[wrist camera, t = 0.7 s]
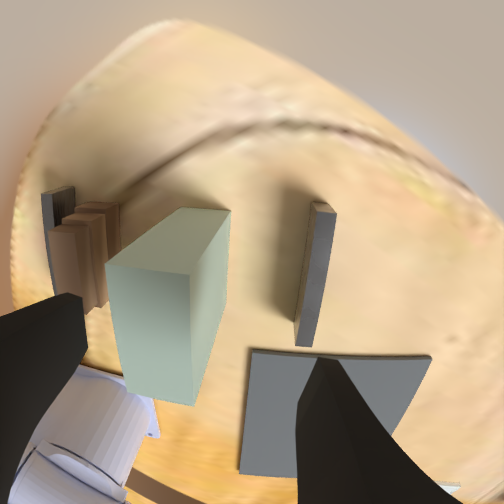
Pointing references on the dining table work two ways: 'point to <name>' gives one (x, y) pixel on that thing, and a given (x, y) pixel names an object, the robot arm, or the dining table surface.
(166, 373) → the tall pastel pillar
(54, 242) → the offcut stack
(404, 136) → the dining table surface
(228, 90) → the dining table surface
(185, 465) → the dining table surface
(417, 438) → the dining table surface
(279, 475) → the slate mat
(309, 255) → the offcut rack
